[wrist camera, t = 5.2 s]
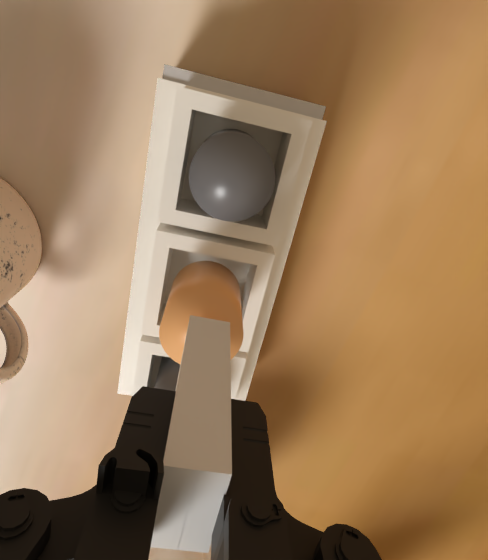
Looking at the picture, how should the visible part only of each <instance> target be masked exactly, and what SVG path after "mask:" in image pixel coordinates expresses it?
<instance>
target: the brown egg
mask: <svg viewBox="0 0 488 560" xmlns="http://www.w3.org/2000/svg"><path fill="white" fill-rule="evenodd" d="M190 315H193V316H198V317H204V318H209V319H215V320H220V321H226V322H230V358H231V359H232V358H233V357H234V356H235V355H236V354H237V353H238V351H239V349H240V347H241V345H242V342H243V321H242V309H241V297H240V287H239V283H238V280H237V278H236V277H235V275H234V274H233V273H232V272H231V271H230V270H229V269H228V268H227V267H225V266H224V265H222V264H219V263H217V262H213V261H198V262H194V263H191V264H189V265H187V266H185V267H184V268H183V269H182V270H180V271H179V273H178V274H177V275H176V277H175V279H174V281H173V284H172V287H171V291H170V294H169V297H168V301H167V304H166V307H165V310H164V314H163V317H162V320H161V324H160V328H159V338H160V342H161V345H162V347H163V349H164V351H165V352H166V353H167V355H168V356H169V357H170V358H171V359H172V360H174V361H175V362H177V363H178V364H181V359H182V354H183V349H184V344H185V339H186V334H187V329H188V324H189V319H190Z"/></svg>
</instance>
